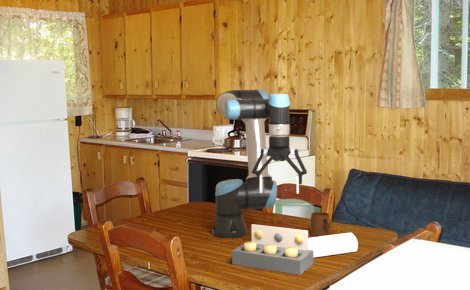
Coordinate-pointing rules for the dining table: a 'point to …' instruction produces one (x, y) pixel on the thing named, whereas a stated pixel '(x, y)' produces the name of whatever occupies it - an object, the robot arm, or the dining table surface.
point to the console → (282, 241)
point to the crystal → (333, 244)
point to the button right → (291, 252)
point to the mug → (320, 224)
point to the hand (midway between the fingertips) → (279, 192)
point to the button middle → (270, 249)
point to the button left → (250, 246)
